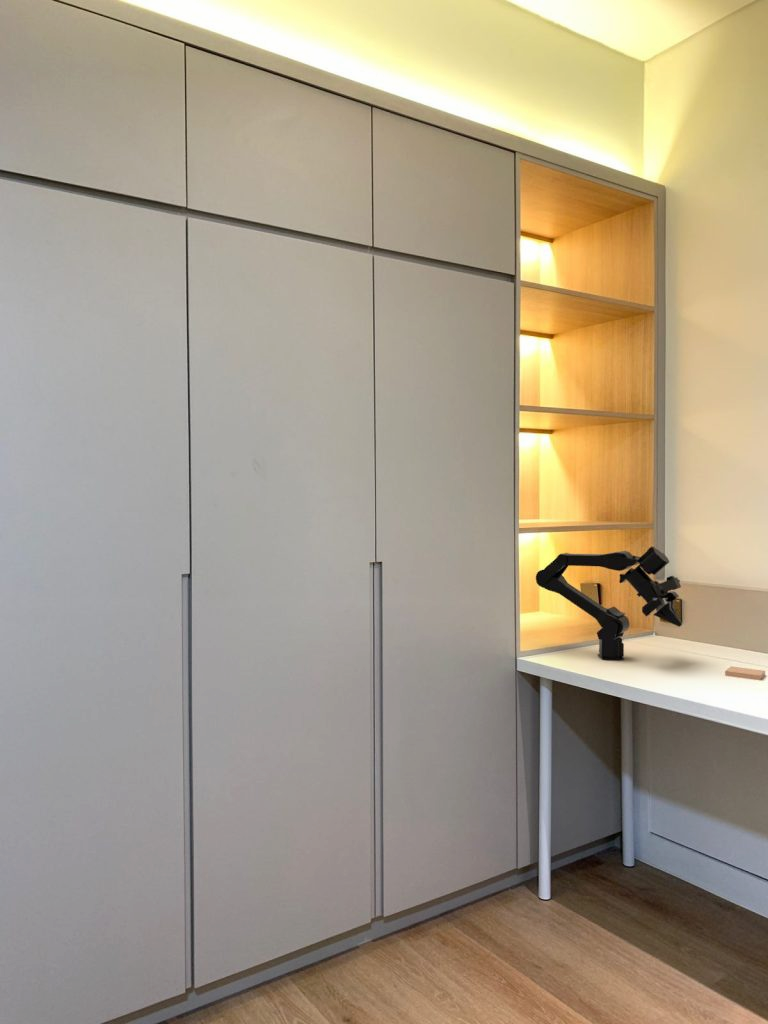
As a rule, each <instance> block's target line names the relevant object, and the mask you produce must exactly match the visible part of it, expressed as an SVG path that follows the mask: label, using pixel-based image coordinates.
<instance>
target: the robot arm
mask: <svg viewBox="0 0 768 1024" xmlns="http://www.w3.org/2000/svg"><path fill="white" fill-rule="evenodd" d="M668 564H670V559H669V558H668V557H667V556H666V554H664V553H662V551H660V550H659V549H657V548H656V547H655V546H654V545H653V546H650V547H649V548H648V549H647V550H646V551H645V552H644V553H643V554H642V555H641V556H637V555H633V554H632V553H631V552H630V551H627V550H621V551H616V552H610V553H603V554H602V553H600V554H597V553H568V552H564V553H560V554H558V555H557V556H556V558H555V559H553V561H551V562H550V563H549V564H547V566H545V567H544V569H540V570H538V571H537V572H536V573H535V574H536V575H535V581H536V584H537V586H539V587H540V588H543V589H545V590H547V591H550V592H553V593H555V594H558V595H561V596H562V597H563V598H564V599H566V600H567V601H569V602H571V603H572V604H574V605H575V606H576V607H578V608H580V609H581V610H582V611H584V612H585V613H587V614H588V615H590V616H591V617H593V618H594V619H595V620H596V621H597V623H598V624H599V626H600V627H601V628H600V629H599V630H597V631H596V635H597V639H598V640H599V641H598V642H599V643H598V647H599V649H598V653H597V657H599V658H600V659H601V660H605V661H606V660H609V661H610V660H611V661H612V660H615V661H617V660H619V661H622V660H623V661H624V660H625V658H624V655H625V652H624V651H625V650H624V649H625V647H624V646H625V644H624V642H623V636H624V634H625V632H627V631H628V630H629V628H630V621H629V618H628V617H627V616H626V613H625V612H623V611H620V610H619V609H618V608H617V607H615V606H611V607H609V608H607V607H604V606H603V605H602V604H600V603H598V602H597V601H595V600H593V599H592V598H591V597H590V596H588V595H586V594H585V593H584V592H582V591H580V590H579V589H578V588H576V587H575V586H573V585H572V584H570V583H569V582H568V581H567V580H566V578H565V576H563V574H564V573H565V572H566V570H567V568H568V567H570V566H573V567H600V568H605V569H607V570H612V571H617V572H620V571H621V572H622V571H625V570H627V571H626V572H624V573H620V574H619V580H618V581H619V583H620V584H623V583H626V582H628V583H629V585H631V587H632V589H634V590H635V591H636V592H637V593H636V595H637V597H639V598H640V597H641V598H642V599H643V600H644V601H645V602H646V604H644V605H643V606H642V608H641V613H642V614H643V615H644V616H645V617H646V618H647V617H649V616H650V615H651V613H652V612H654V611H656V612H655V613H654V614H653V616H654V617H658V618H660V619H662V620H664V621H667V623H670V624H672V625H675V626H676V627H682V626H683V623H682V620H681V619H680V617H679V615H678V613H677V610H675V602H676V600H677V599H678V598H679V597H680V595H679V594H677V592H676V591H674V590H679V589H680V588H682V586H681V584H680V583H681V580H680V579H679V578H678V577H675V576H674V575H670V576H668V577H666V581H662V582H659V581H658V580H653V579H652V578H651V577H650V575H653V576H655V575H657V574H658V573H659V572H660V571H661V570H663V568H665V567H666V566H667V565H668ZM634 566H636V567H635V568H632V567H634Z"/></svg>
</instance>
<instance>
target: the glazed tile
mask: <svg viewBox="0 0 768 1024" xmlns="http://www.w3.org/2000/svg"><path fill="white" fill-rule="evenodd" d="M724 676H726V677H732V678H739V679H740V678H741V679H746V680H754V681H761V680H763V678H765V676H766V670H763V669H762V670H761V669H753V668H748V667H740V666H739V667H738V666H732V665H730V666H729V667H728V668H727V669H725V671H724Z"/></svg>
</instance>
